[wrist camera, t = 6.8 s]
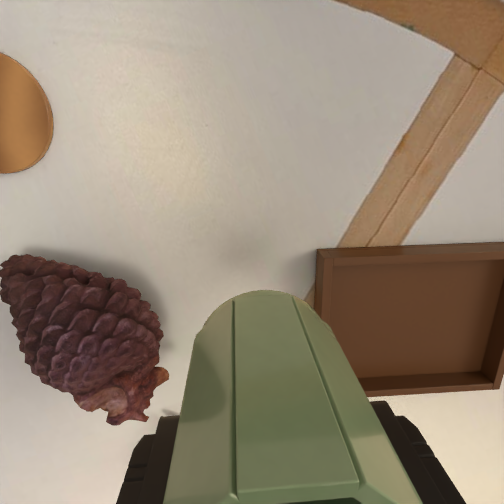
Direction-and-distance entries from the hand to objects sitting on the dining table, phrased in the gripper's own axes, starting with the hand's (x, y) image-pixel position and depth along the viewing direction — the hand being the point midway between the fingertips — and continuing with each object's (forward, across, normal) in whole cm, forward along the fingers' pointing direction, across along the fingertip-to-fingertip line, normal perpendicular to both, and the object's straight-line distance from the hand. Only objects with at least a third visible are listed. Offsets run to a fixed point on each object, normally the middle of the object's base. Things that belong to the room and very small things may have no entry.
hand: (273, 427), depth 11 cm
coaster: (+20, +20, -12) cm, 30 cm away
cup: (+5, 0, 0) cm, 5 cm away
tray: (+20, -16, +8) cm, 27 cm away
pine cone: (+20, +14, +5) cm, 25 cm away
